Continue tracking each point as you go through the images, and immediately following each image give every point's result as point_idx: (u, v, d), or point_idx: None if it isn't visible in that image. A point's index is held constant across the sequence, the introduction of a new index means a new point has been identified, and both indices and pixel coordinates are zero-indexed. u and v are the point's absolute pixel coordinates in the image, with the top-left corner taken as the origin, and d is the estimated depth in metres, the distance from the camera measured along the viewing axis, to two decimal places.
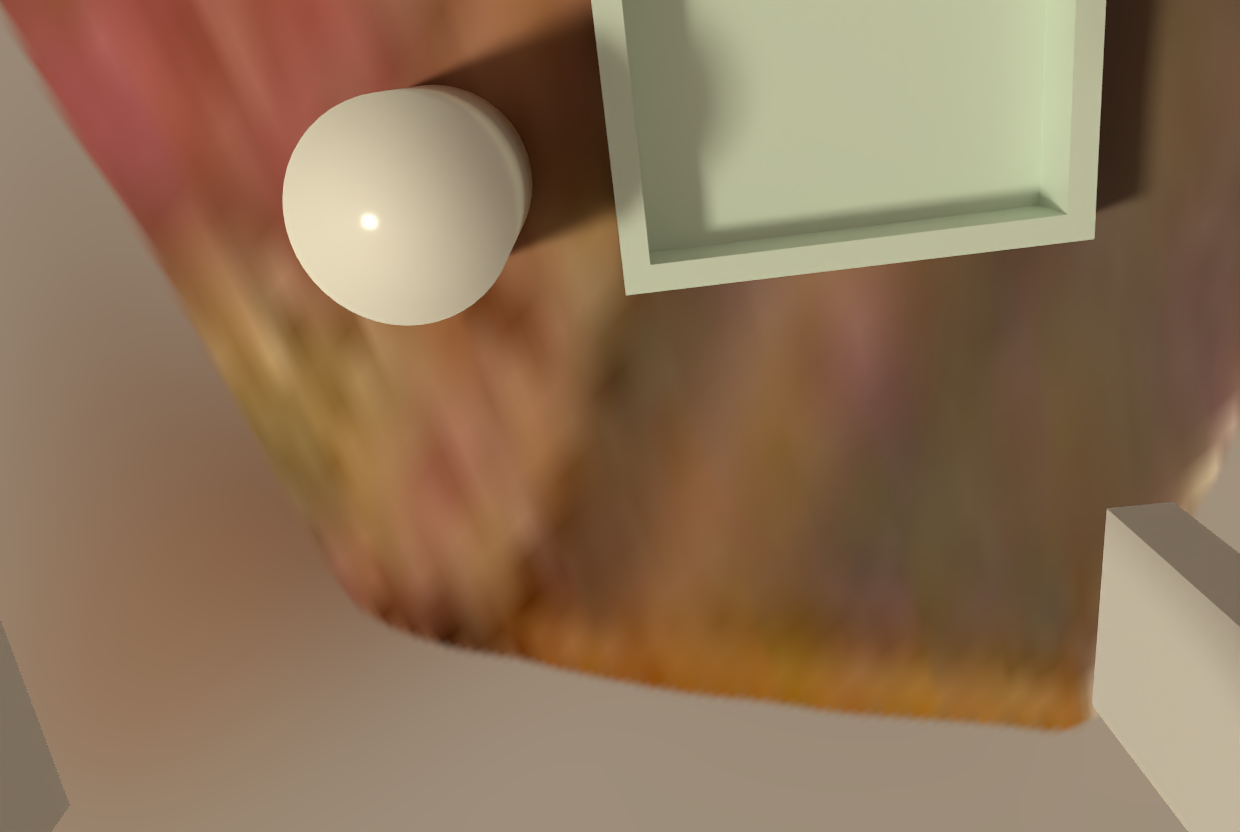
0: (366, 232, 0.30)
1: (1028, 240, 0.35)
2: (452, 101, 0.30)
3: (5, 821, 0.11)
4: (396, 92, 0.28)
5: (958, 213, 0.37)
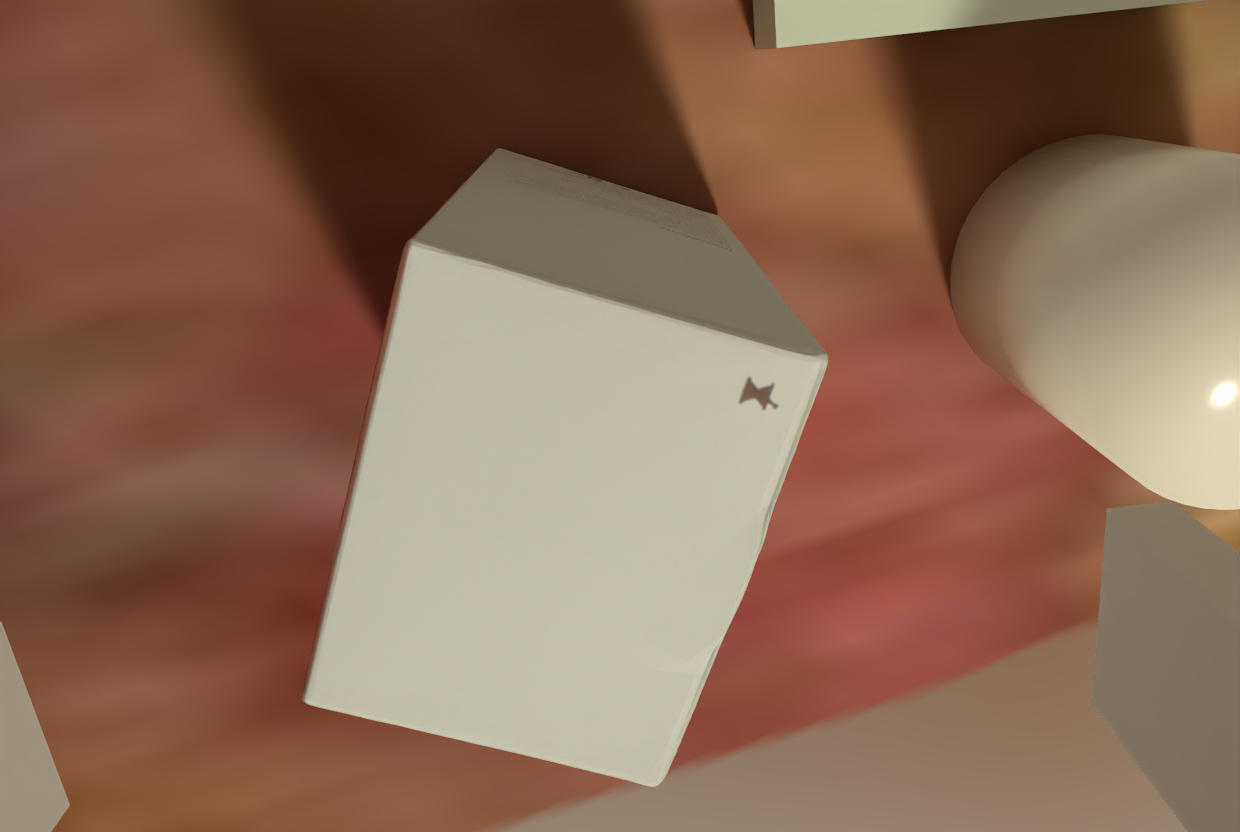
0: None
1: None
2: (1077, 253, 0.20)
3: (5, 821, 0.11)
4: (1093, 339, 0.19)
5: None
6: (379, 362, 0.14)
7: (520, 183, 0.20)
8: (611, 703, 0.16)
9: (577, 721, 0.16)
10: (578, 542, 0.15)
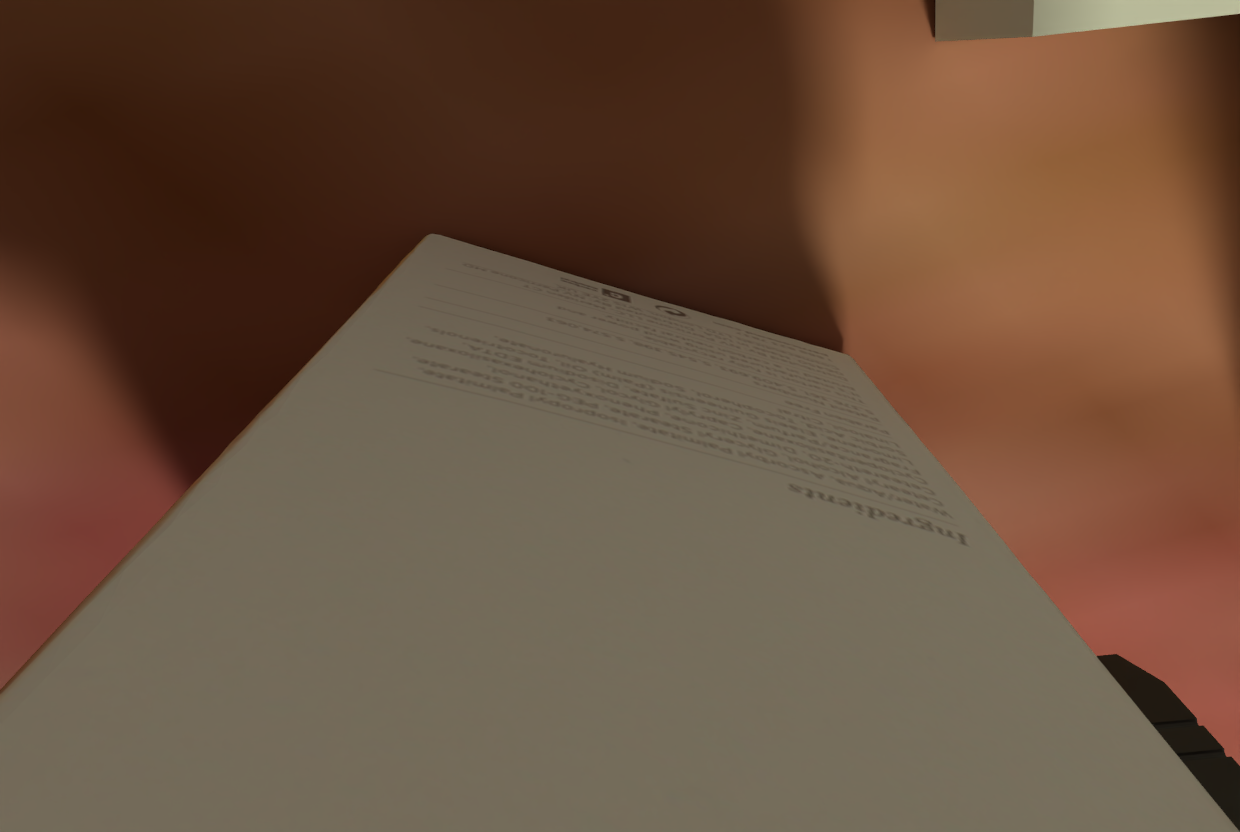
0: None
1: None
2: None
3: None
4: None
5: None
6: None
7: (437, 374, 0.08)
8: None
9: None
10: None
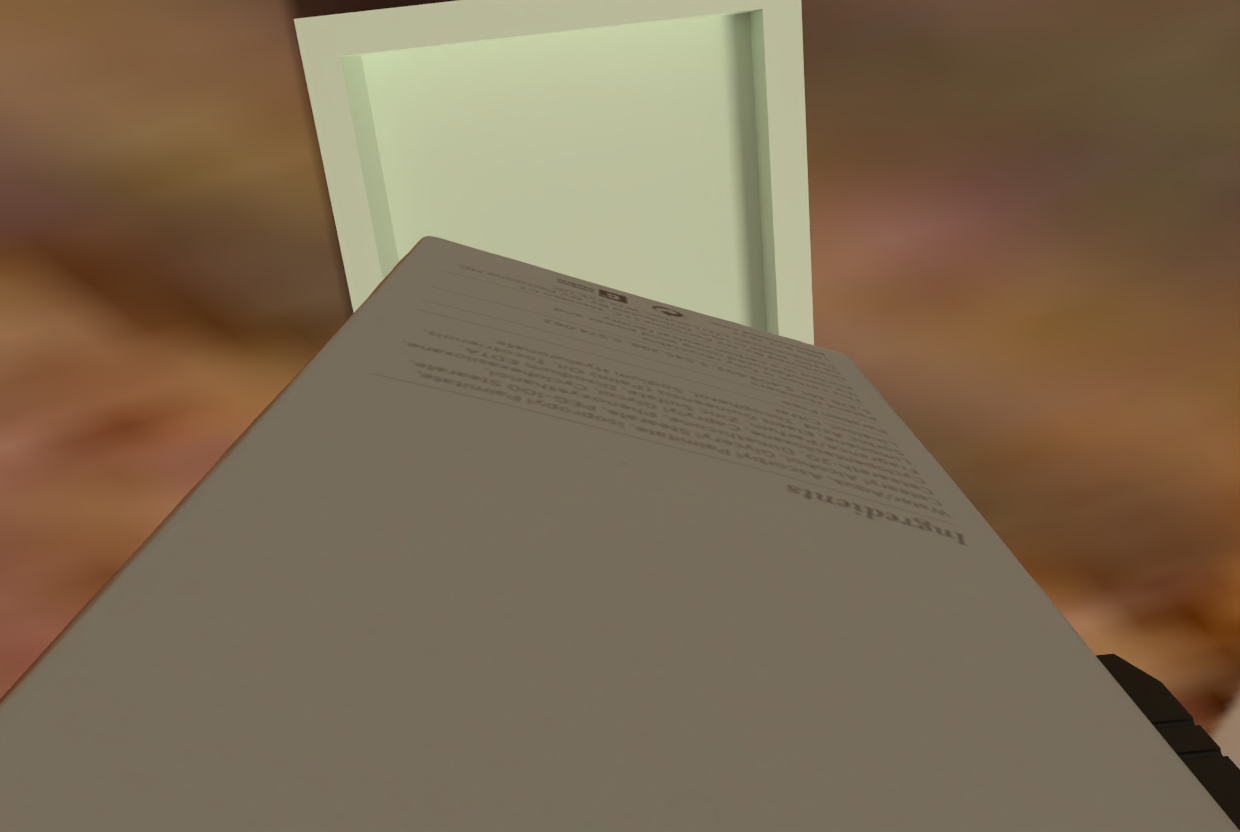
0: None
1: (794, 62, 0.26)
2: None
3: None
4: None
5: (753, 126, 0.28)
6: None
7: (435, 378, 0.08)
8: None
9: None
10: None
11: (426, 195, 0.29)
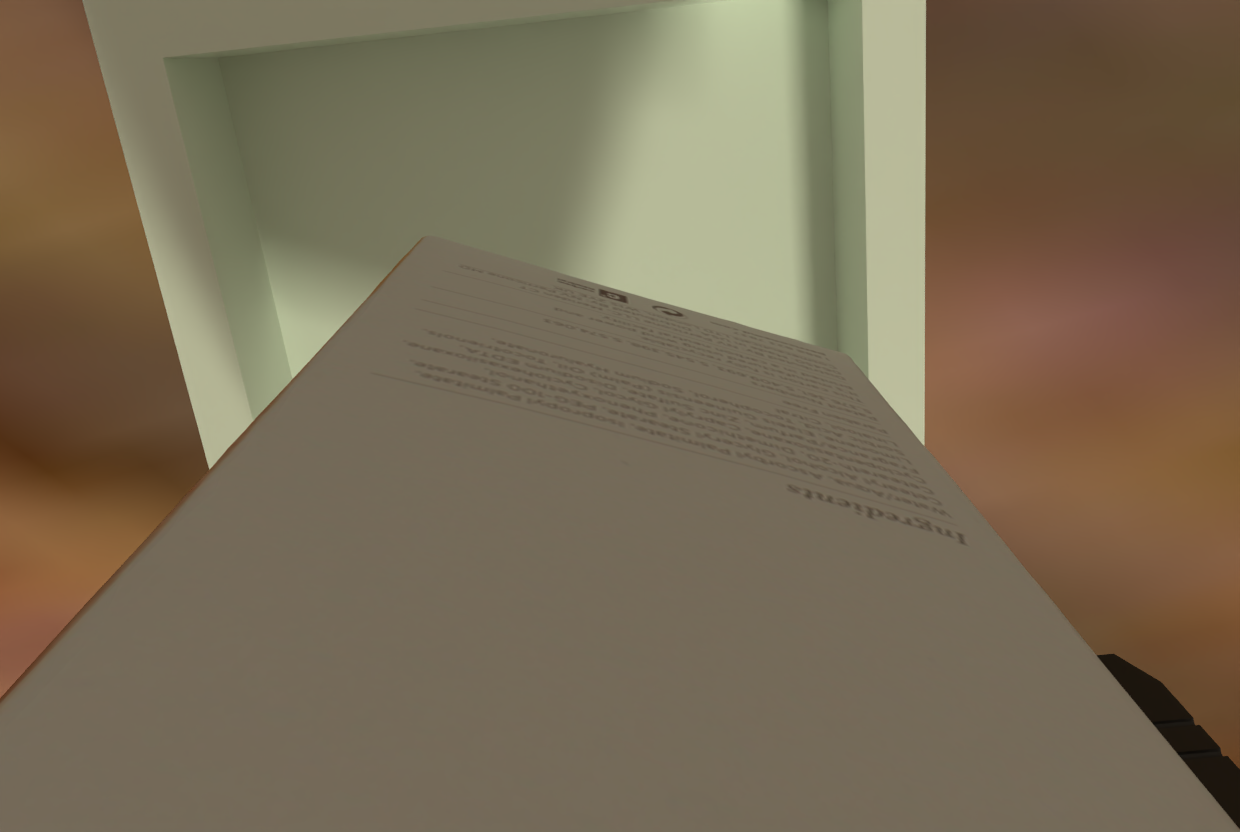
0: None
1: (911, 67, 0.16)
2: None
3: None
4: None
5: (829, 165, 0.18)
6: None
7: (434, 377, 0.08)
8: None
9: None
10: None
11: (327, 270, 0.19)
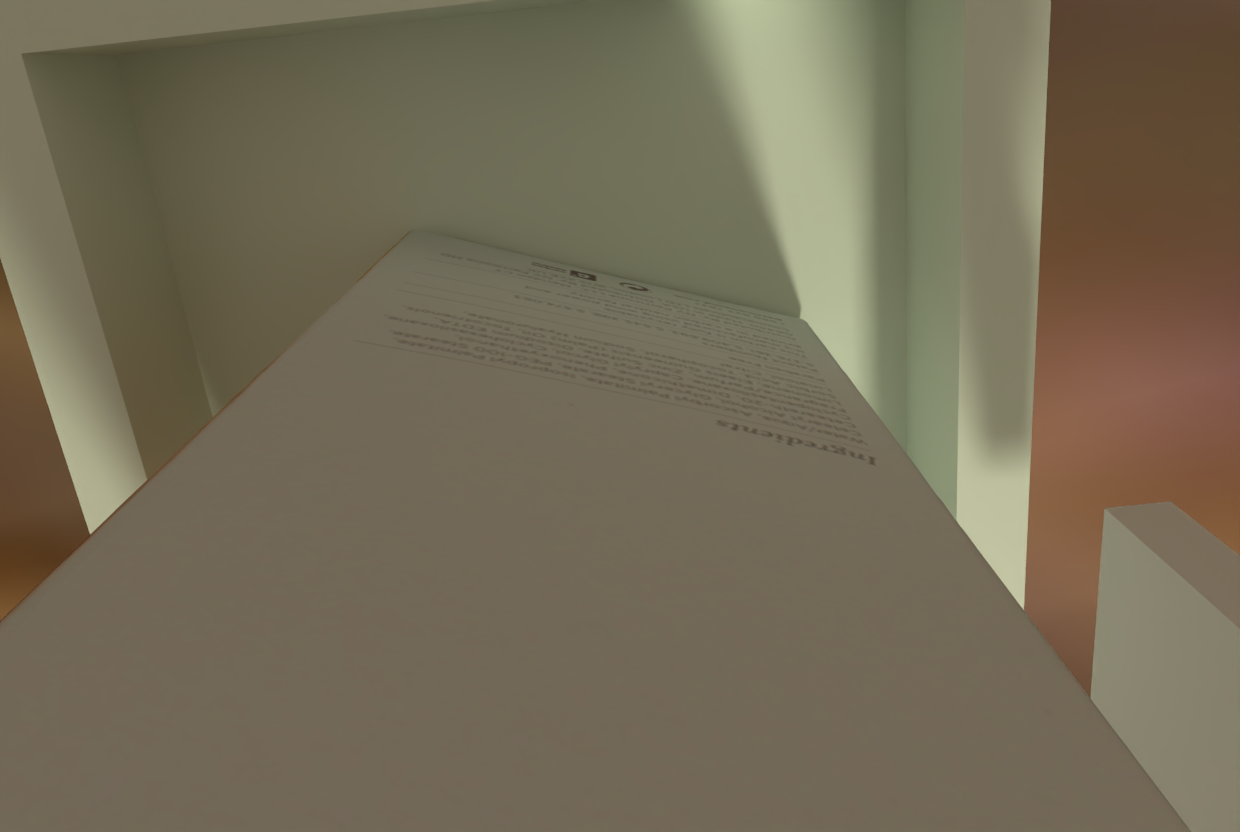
0: None
1: (1028, 67, 0.12)
2: None
3: None
4: None
5: (901, 192, 0.14)
6: None
7: (409, 342, 0.09)
8: None
9: None
10: None
11: (264, 322, 0.15)
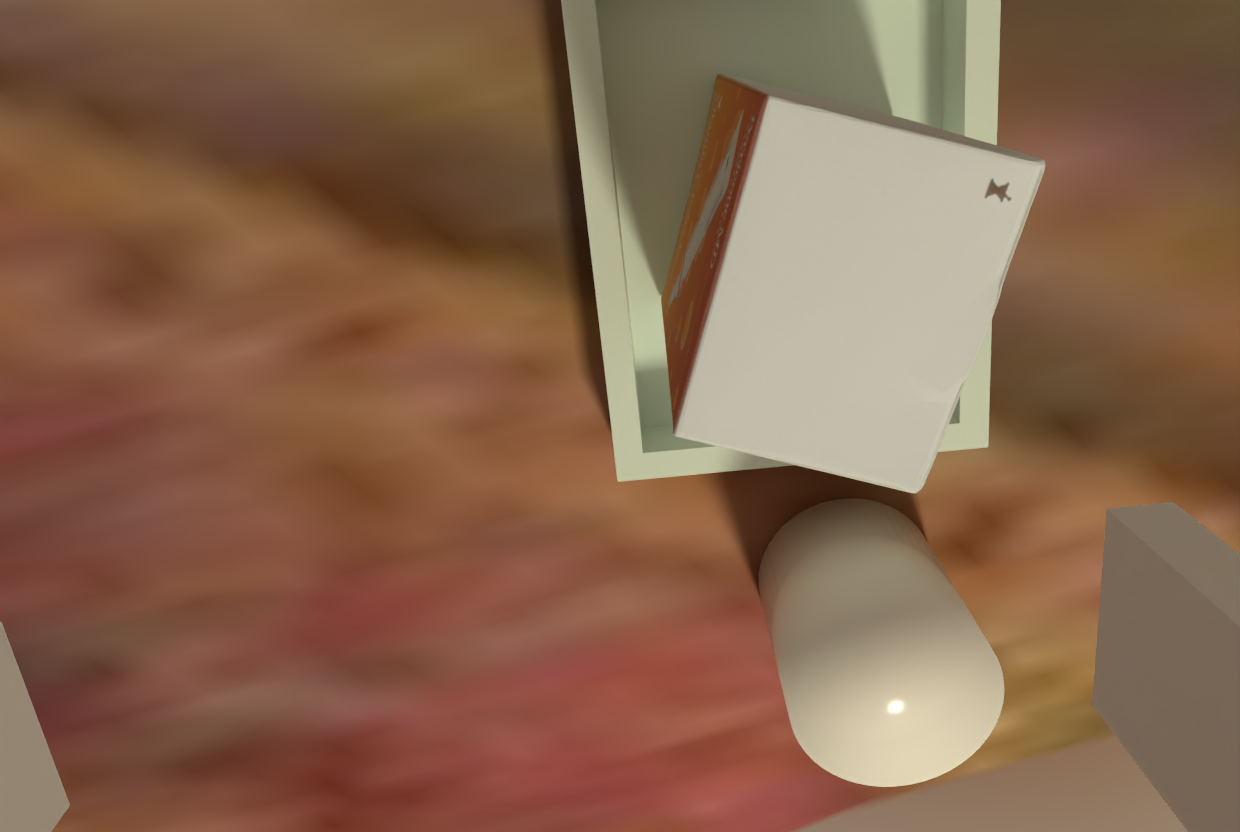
0: (910, 727, 0.32)
1: None
2: (793, 627, 0.33)
3: (5, 821, 0.11)
4: (789, 693, 0.32)
5: (940, 57, 0.32)
6: (741, 182, 0.21)
7: (769, 85, 0.27)
8: (888, 428, 0.23)
9: (864, 442, 0.23)
10: (871, 305, 0.21)
11: (644, 120, 0.33)
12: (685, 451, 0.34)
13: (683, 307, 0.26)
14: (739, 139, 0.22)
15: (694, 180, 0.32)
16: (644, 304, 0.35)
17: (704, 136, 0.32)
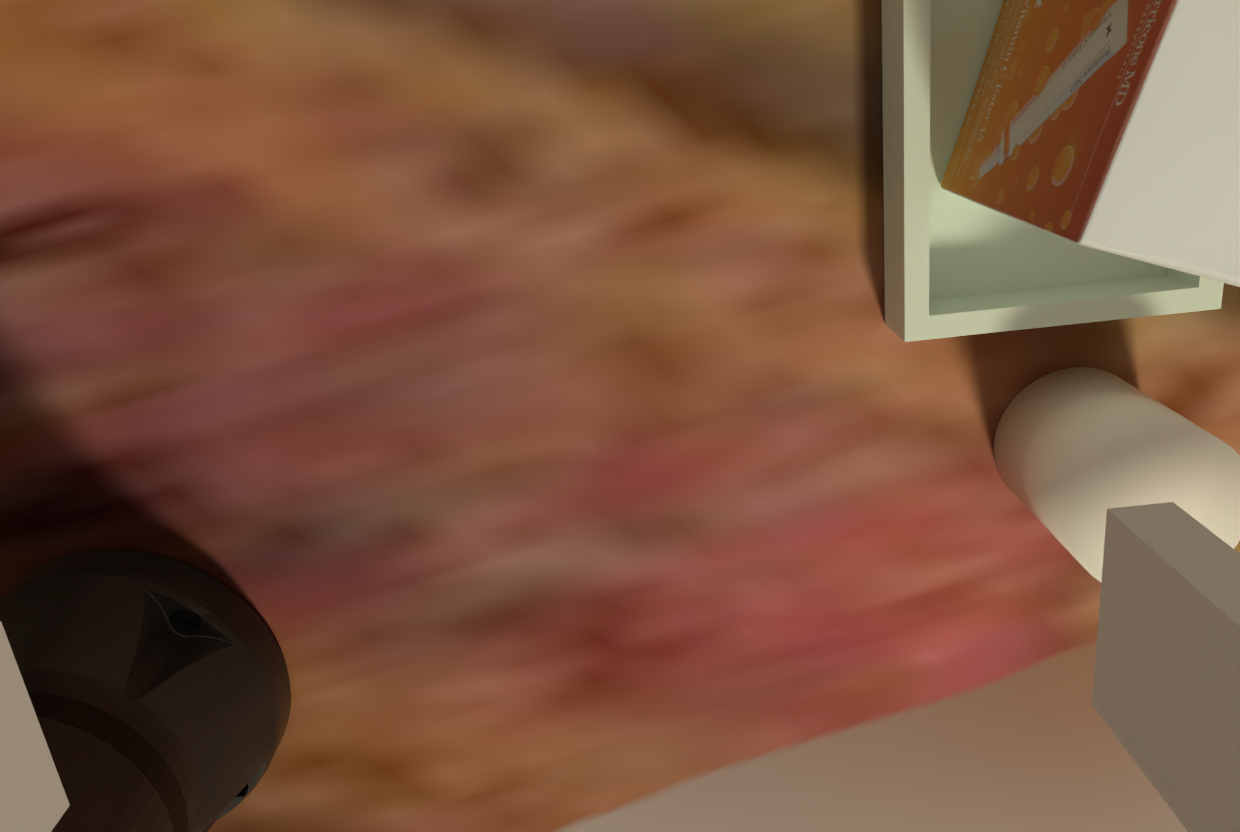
0: None
1: None
2: (1066, 458, 0.39)
3: (4, 821, 0.11)
4: (1072, 509, 0.38)
5: None
6: (1162, 30, 0.27)
7: None
8: None
9: (1229, 246, 0.29)
10: None
11: (940, 27, 0.38)
12: (965, 313, 0.40)
13: (1038, 160, 0.32)
14: (1134, 5, 0.28)
15: (991, 75, 0.37)
16: None
17: (999, 38, 0.38)
